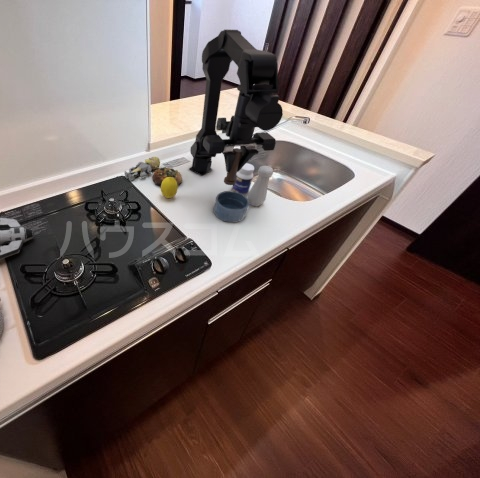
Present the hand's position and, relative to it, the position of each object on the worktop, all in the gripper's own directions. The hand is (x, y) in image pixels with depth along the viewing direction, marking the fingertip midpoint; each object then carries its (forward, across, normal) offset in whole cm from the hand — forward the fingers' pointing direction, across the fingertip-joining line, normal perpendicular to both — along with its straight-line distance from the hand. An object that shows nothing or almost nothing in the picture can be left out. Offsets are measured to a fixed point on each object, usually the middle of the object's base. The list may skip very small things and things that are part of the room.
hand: (232, 171), depth 75 cm
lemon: (+13, +16, -8) cm, 23 cm away
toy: (+12, +29, -21) cm, 38 cm away
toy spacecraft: (+14, +72, +8) cm, 73 cm away
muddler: (+4, 0, 0) cm, 4 cm away
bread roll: (+13, +14, -19) cm, 27 cm away
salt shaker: (+13, -12, -1) cm, 18 cm away
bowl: (+13, -1, +3) cm, 14 cm away
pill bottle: (+13, -9, -8) cm, 18 cm away
